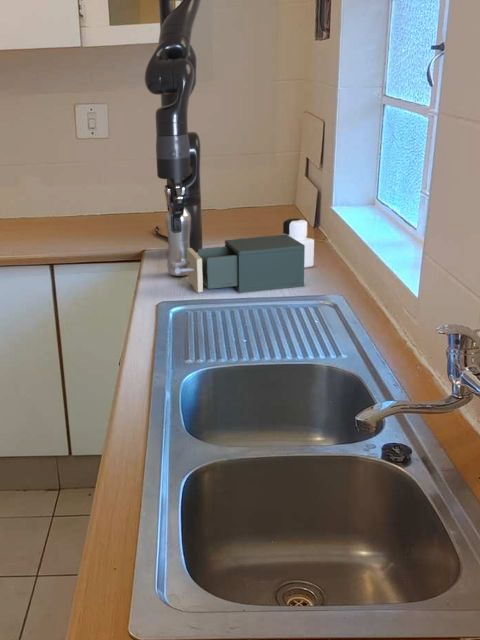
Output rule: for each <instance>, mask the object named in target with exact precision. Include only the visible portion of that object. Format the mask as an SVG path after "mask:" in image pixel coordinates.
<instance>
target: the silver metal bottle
mask: <svg viewBox="0 0 480 640" xmlns="http://www.w3.org/2000/svg"><path fill="white" fill-rule="evenodd" d="M164 219H165V227H166V232H167V237H168V240H167V241H168V251H167V252H168V253H167V260H166V268H167V272H168V273H169V275H171V276H175V277H176V276H177V277H183V276H188V271H185V272H180V273H179V274H176V273H175V272H174V271H173V269H172V268H171V267H170V265H169V263H170V262H171V261H173V262H175V263H179V262H187V248H190V244H189V243H190V240H189V238H190V225H191V216H190V213H189V212H188V210H187V209H186V208H185V207H184V214H183V215H182V216H181V227H182V231H181V232H180V233H173V232H172V231H171V216H170V214H169V212H168V211H167V212H166V214H165V218H164ZM178 267H179V269H184V268H187V265H179V266H178Z"/></svg>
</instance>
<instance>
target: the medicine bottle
mask: <svg viewBox="0 0 480 640" xmlns="http://www.w3.org/2000/svg"><path fill="white" fill-rule="evenodd" d="M286 234H287V235H288V236H290V237H292V238H293V239H295V240H297V241H298V242H300V243H301V244H303V245H305V256H304V269H306V268H311V267H314V265H315V264H314V262H315V261H314V260H315V239H314V238H310V237H307V236H308V221H307V220H306V219H303V218H288V219H286V220H284V221H283V223H282V235H286Z"/></svg>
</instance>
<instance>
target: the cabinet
mask: <svg viewBox="0 0 480 640" xmlns="http://www.w3.org/2000/svg"><path fill="white" fill-rule="evenodd" d="M225 246H228V247H230V248H231V249H232V250H233V251H234V252H235V253H237V254H238V286H232V287H233V288H234V289H235V290H236V291H237V292H238V293H240V294H241V293H250V292H251V293H252V292H259V291H260V292H261V291H269V290H279V289H290V288H297V287H298V288H300V287H304V286H305V268H304V256H305V245H303V244H301V243H300V242H298V241H297V240H295V239H293V238H292V237H290V236H288V235H287V234H286V235H283V234H277V235H266V236H265V235H264V236H256V237H246V238H233V239H226V240H224V247H225Z"/></svg>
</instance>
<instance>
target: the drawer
mask: <svg viewBox="0 0 480 640" xmlns="http://www.w3.org/2000/svg"><path fill="white" fill-rule="evenodd" d="M169 265H170V267H171V268H172V269H173V271H174V272H175V273H176V274H179V273H180V272H185V271H188V275H187V281H188V282H189V283H190V284H191V286H192V287H193V288H194V289H195V290H196V292H197V293H204V286H205V287H206V288H207V290H208V289H209V290H210V289H211V290H212V289H220V288H222V289H223V288H229V287H230V288H231V287H233V286H238V254H237V253H235V252H234V251H233V250H232V249H231V248H230V247H228V246H225V245H224V246H215V247H206V248H202V249H198V254H197V253H196V252H195V251H194V250H193V249H192V248H187V262H179V263H175V262H173V261H171V262H170V263H169ZM179 265H187V268H184V269H179V267H178V266H179Z"/></svg>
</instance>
